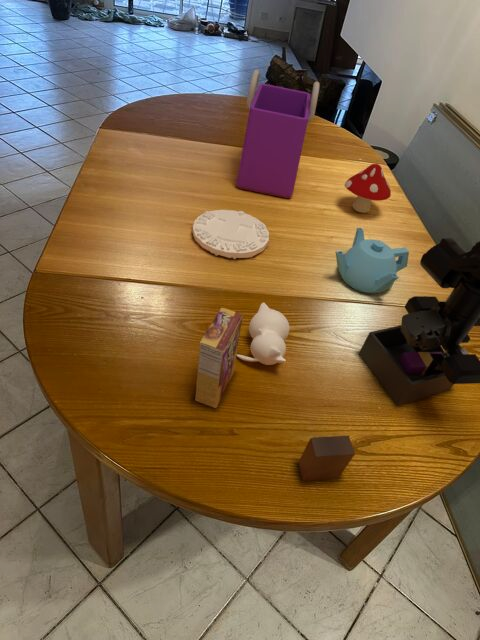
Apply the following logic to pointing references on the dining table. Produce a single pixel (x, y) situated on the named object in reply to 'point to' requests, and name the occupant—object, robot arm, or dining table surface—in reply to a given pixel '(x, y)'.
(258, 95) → the shopping bag
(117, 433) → the dining table surface
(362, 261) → the teakettle
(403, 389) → the waste bin
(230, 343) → the candy box
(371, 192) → the decorative mushroom
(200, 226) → the white round plaque
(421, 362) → the chocolate bar
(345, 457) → the block stand
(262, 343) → the cat figurine
